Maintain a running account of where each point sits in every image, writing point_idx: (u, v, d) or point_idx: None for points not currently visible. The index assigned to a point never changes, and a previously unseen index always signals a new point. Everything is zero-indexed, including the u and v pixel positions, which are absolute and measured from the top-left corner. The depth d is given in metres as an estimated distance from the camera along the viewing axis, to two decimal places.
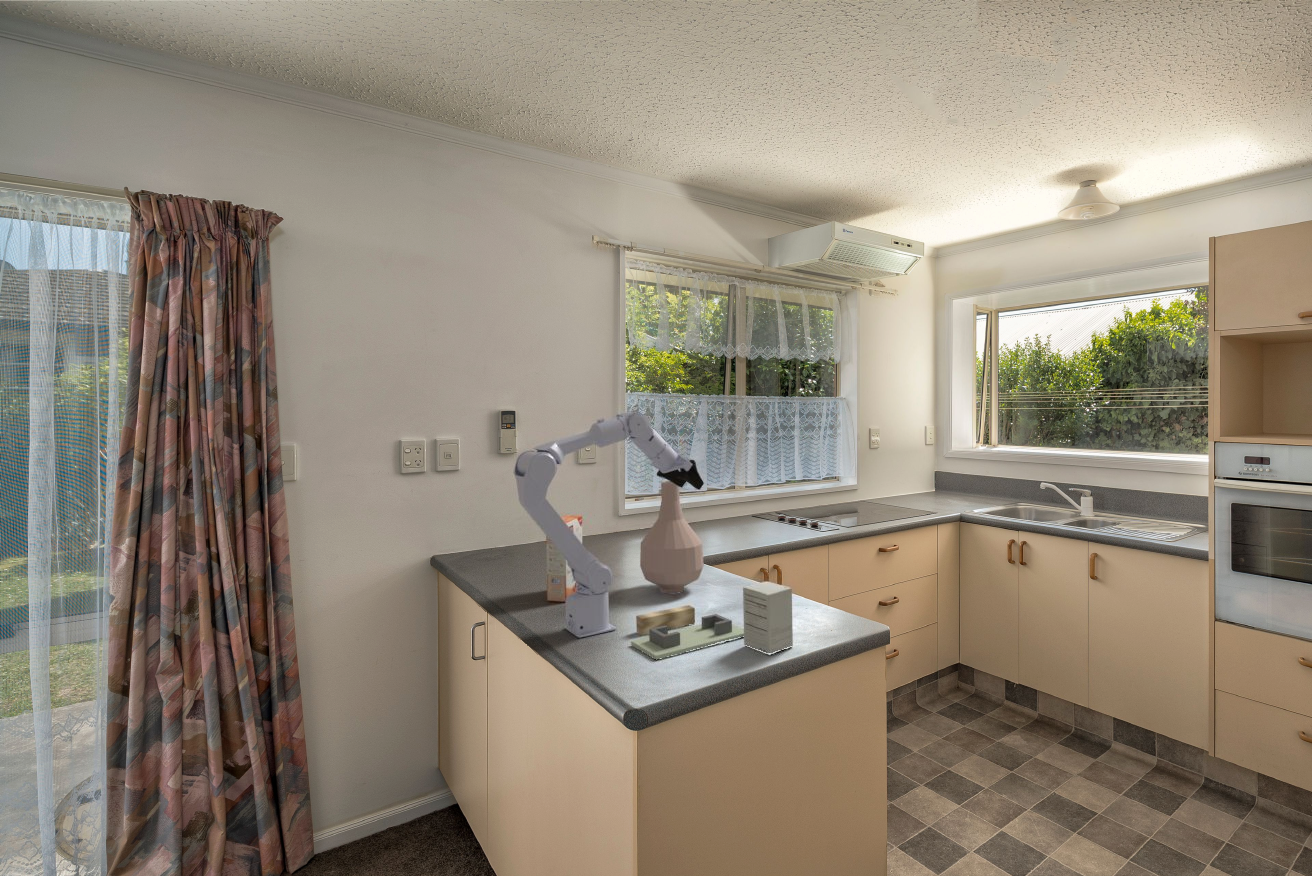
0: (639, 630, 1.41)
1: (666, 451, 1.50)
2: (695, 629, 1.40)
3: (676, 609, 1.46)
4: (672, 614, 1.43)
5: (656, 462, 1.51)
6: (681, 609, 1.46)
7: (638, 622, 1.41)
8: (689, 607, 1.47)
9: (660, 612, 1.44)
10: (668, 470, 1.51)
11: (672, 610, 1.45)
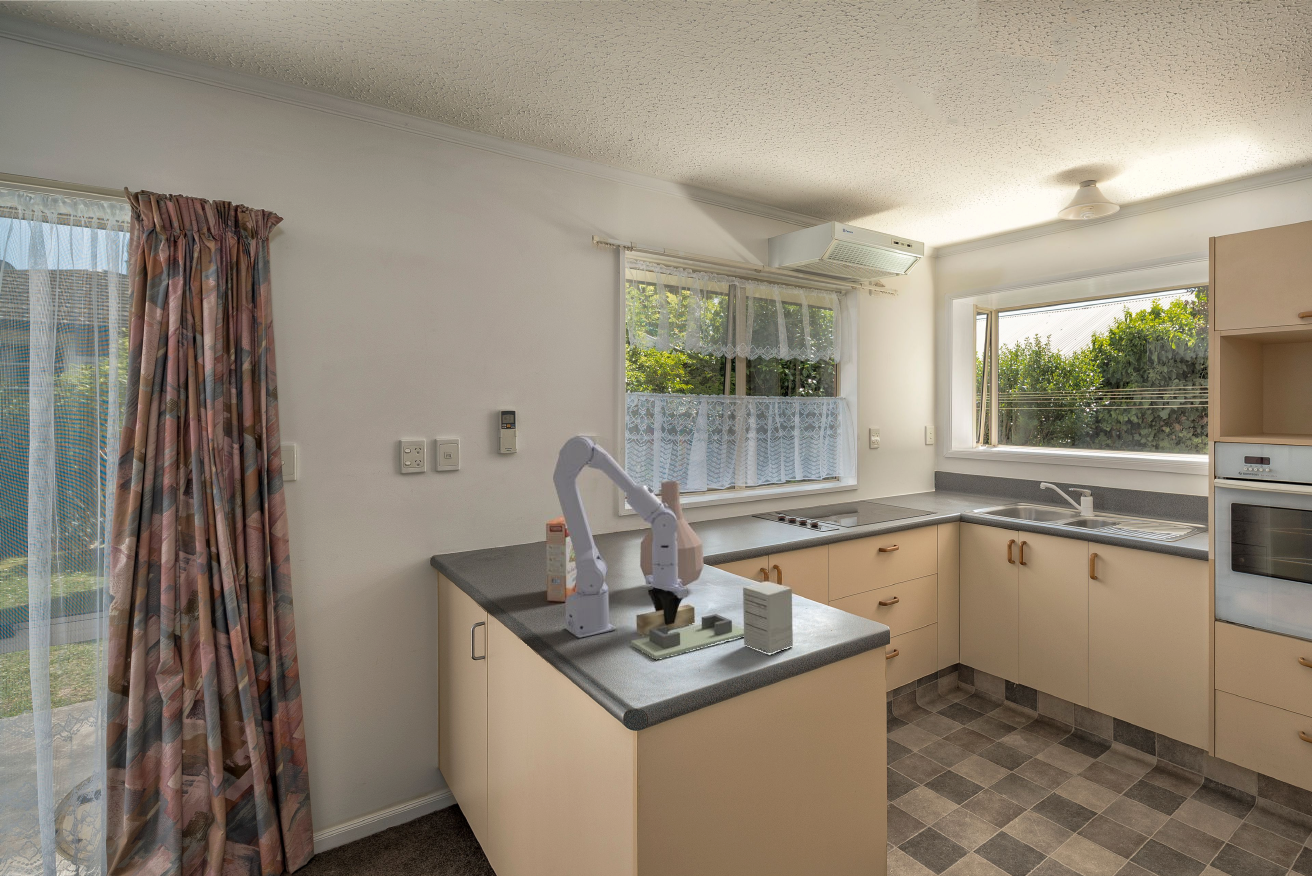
0: (639, 629, 1.40)
1: (673, 568, 1.41)
2: (695, 629, 1.40)
3: None
4: None
5: (657, 571, 1.42)
6: (681, 608, 1.46)
7: (638, 621, 1.41)
8: (689, 606, 1.47)
9: (660, 611, 1.44)
10: (661, 586, 1.41)
11: None
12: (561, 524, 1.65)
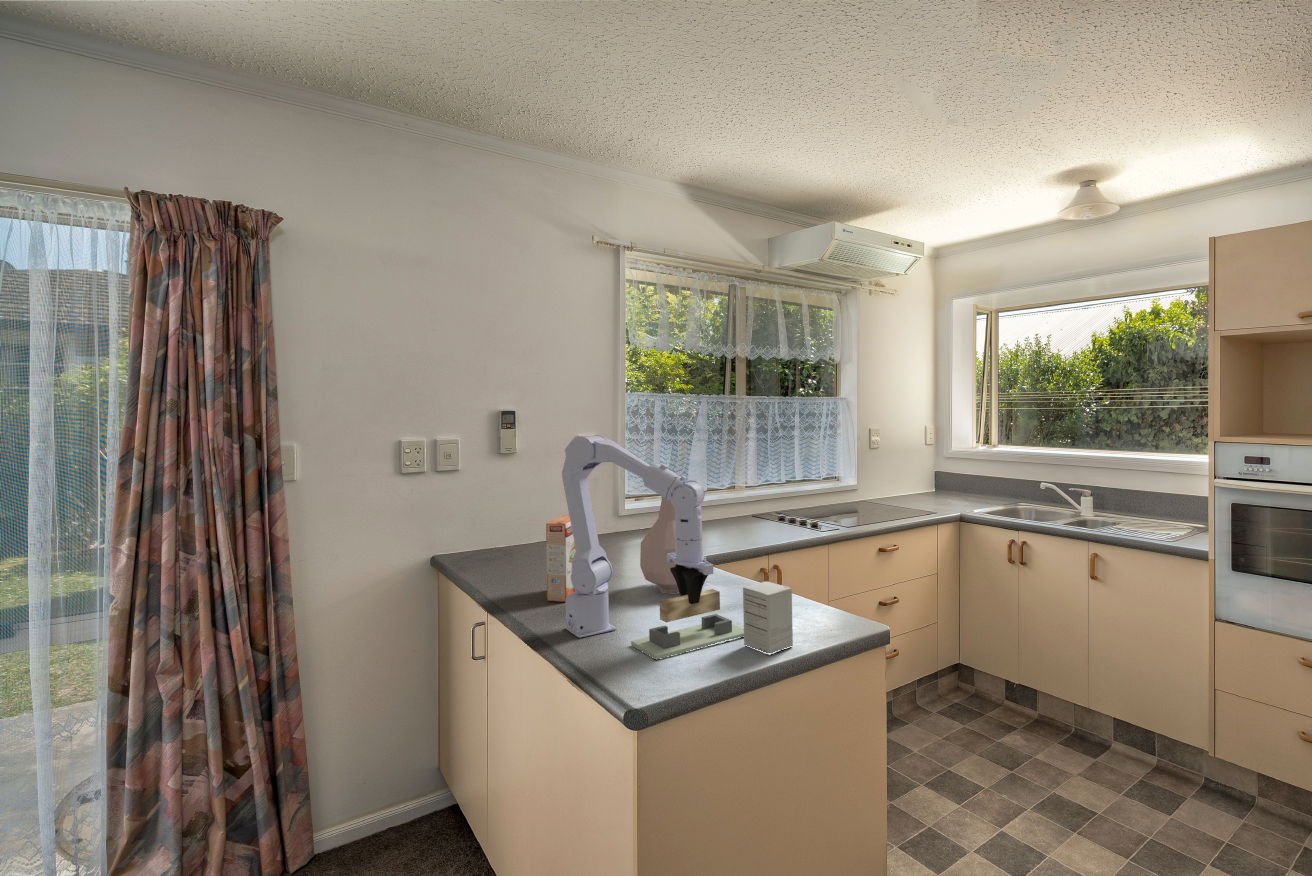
0: (663, 616, 1.32)
1: (697, 544, 1.33)
2: (695, 629, 1.40)
3: None
4: None
5: (680, 547, 1.33)
6: (705, 593, 1.37)
7: (662, 607, 1.32)
8: (713, 591, 1.39)
9: (684, 596, 1.35)
10: (685, 563, 1.32)
11: None
12: (561, 524, 1.65)
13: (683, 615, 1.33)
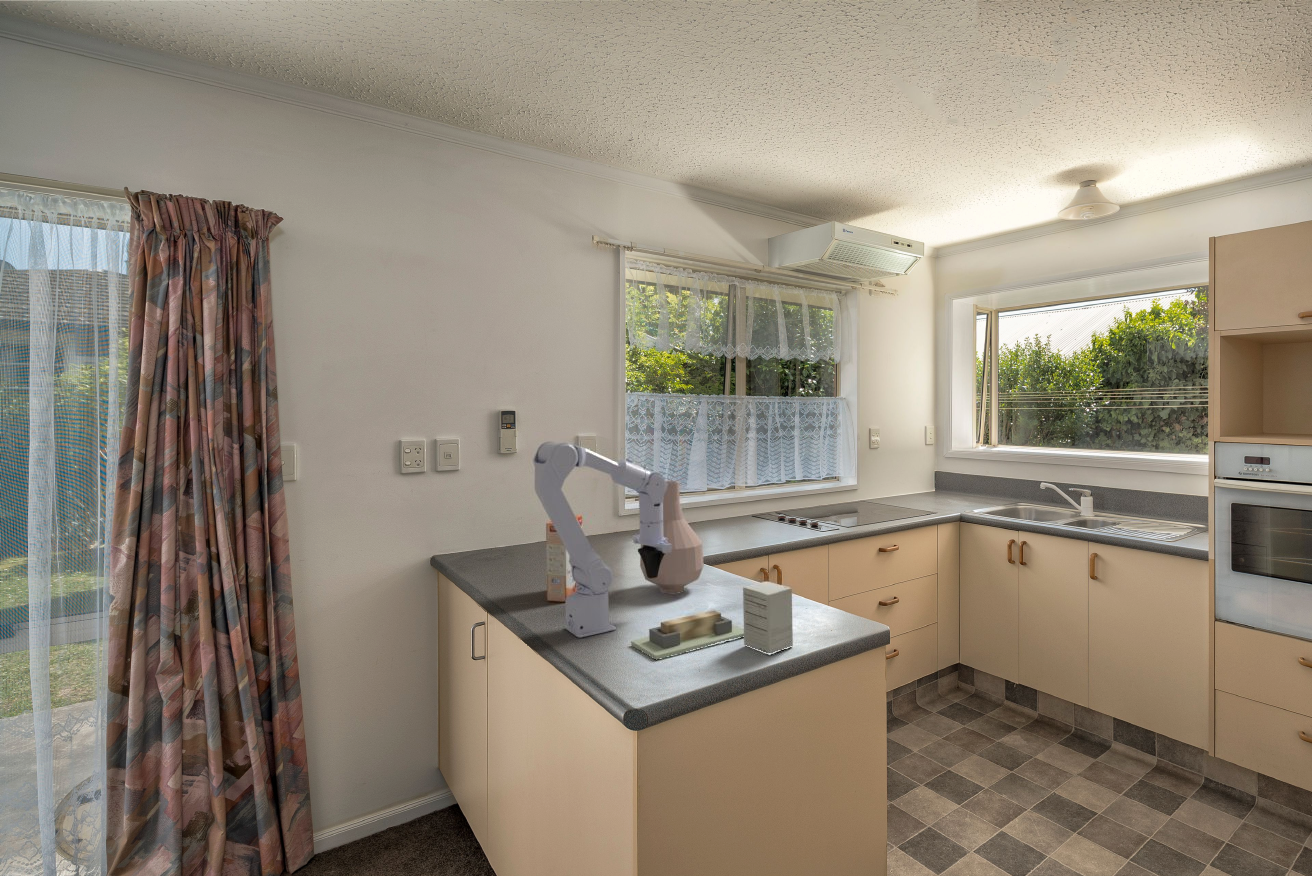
0: None
1: (658, 526, 1.50)
2: None
3: (701, 614, 1.37)
4: (698, 620, 1.35)
5: (643, 529, 1.50)
6: (707, 615, 1.37)
7: (663, 629, 1.32)
8: (715, 612, 1.39)
9: (685, 618, 1.35)
10: (647, 543, 1.49)
11: (698, 616, 1.36)
12: None
13: (684, 637, 1.33)
